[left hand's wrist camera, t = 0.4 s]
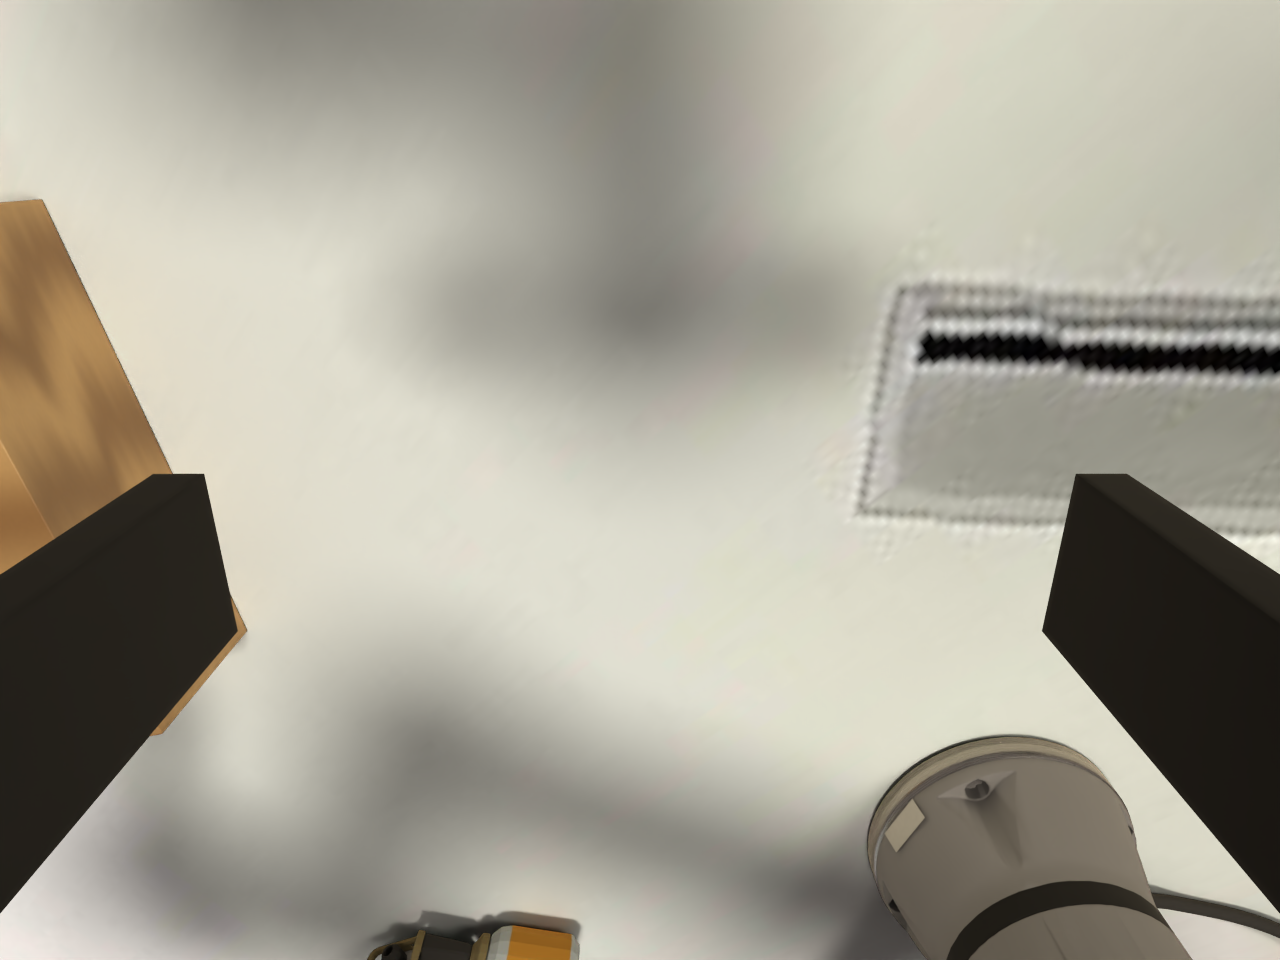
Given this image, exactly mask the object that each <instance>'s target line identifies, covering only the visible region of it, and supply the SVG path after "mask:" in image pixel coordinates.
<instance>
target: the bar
mask: <svg viewBox="0 0 1280 960" xmlns="http://www.w3.org/2000/svg"><path fill="white" fill-rule="evenodd" d="M152 474H172V472H171V470H170V468H169V466H168V464H167V462H166V460H165V458H164V455H163V453H162V451H161V449H160V447H159V445H158V443H157V441H156V439H155V437H154V434H153V432H152V430H151V428H150V426H149V424H148V422H147V420H146V418H145V416H144V413H143V411H142V409H141V407H140V405H139V403H138V401H137V399H136V397H135V395H134V392H133V390H132V388H131V386H130V384H129V382H128V380H127V378H126V376H125V374H124V371H123V369H122V367H121V365H120V363H119V361H118V359H117V357H116V355H115V353H114V350H113V348H112V346H111V344H110V342H109V340H108V338H107V336H106V334H105V332H104V329H103V327H102V325H101V323H100V321H99V319H98V317H97V315H96V313H95V311H94V308H93V306H92V304H91V302H90V300H89V298H88V296H87V294H86V292H85V290H84V287H83V285H82V283H81V281H80V279H79V277H78V275H77V273H76V271H75V269H74V266H73V264H72V262H71V260H70V258H69V256H68V254H67V252H66V250H65V248H64V245H63V243H62V241H61V239H60V237H59V235H58V233H57V231H56V229H55V227H54V224H53V222H52V220H51V218H50V216H49V214H48V212H47V210H46V208H45V206H44V203H43V201H42V200H27V201H14V202H1V203H0V574H2V573H3V572H5V571H6V570H8V569H9V568H11V567H12V566H14V565H15V564H17V563H18V562H20V561H22V560H23V559H25V558H26V557H28V556H29V555H31V554H32V553H34V552H35V551H37V550H38V549H40V548H41V547H43V546H44V545H46V544H47V543H49V542H50V541H52V540H53V539H55V538H56V537H58V536H60V535H61V534H63V533H64V532H66V531H67V530H69V529H70V528H72V527H73V526H75V525H76V524H78V523H79V522H81V521H82V520H84V519H85V518H87V517H88V516H90V515H91V514H93V513H94V512H96V511H98V510H99V509H101V508H102V507H104V506H105V505H107V504H108V503H110V502H111V501H113V500H114V499H116V498H117V497H119V496H120V495H122V494H123V493H125V492H126V491H128V490H129V489H131V488H132V487H134V486H136V485H137V484H139V483H140V482H142V481H143V480H145V479H146V478H148V477H149V476H151V475H152ZM230 597H231V596H230ZM231 601H232V606H233V611H234V615H235V620H236V624H237V629H238V632H237V633H236V634H235V635H234V636H233V638H232V639H231V640H230V641H229V642H228V643H227V645H226V646H225V647H224V648H223V649H222V651H221V652H220V653H219V654H218V655H217V657H216V658H215V659H214V660H213V661H212V662H211V664H210V665H209V666H208V667H207V668H206V670H205V671H204V672H203V673H202V674H201V676H200V677H199V678H198V679H197V680H196V681H195V683H194V684H193V685H192V686H191V687H190V689H189V690H188V691H187V692H186V693H185V695H184V696H183V697H182V698H181V699H180V700H179V702H178V703H177V704H176V705H175V706H174V708H173V709H172V710H171V711H170V712H169V714H168V715H167V716H166V717H165V718H164V719H163V721H162V722H161V723H160V724H159V725H158V727H157V728H156V729H155V730H154V731H153V733H152V734H151V735H150V736H153V735H158V734H162V733H163V732H164V731H165V730H166V729H167V727H168V726H169V725H170V724H171V723H172V721H173V720H174V719H175V718H176V716H177V715H178V714H179V713H180V712H181V710H182V709H183V708H184V707H185V706H186V704H187V703H188V702H189V701H190V699H191V698H192V697H193V696H194V695H195V693H196V692H197V691H198V690H199V689H200V687H201V686H202V685H203V684H204V682H205V681H206V680H207V679H208V678H209V676H210V675H211V674H212V673H213V672H214V670H215V669H216V668H217V667H218V665H219V664H220V663H221V662H222V661H223V659H224V658H225V657H226V656H227V655H228V653H229V652H230V651H231V650H232V648H233V647H234V646H235V645H236V644H237V642H238V641H239V640H240V639H241V638H242V636H243V635H244V634H245V633H246V631H247V630H246V628H245V626H244V623H243V621H242V619H241V617H240V615H239V613H238V611H237V609H236V607H235V605H234V602H233V600H232V598H231Z"/></svg>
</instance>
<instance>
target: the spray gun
mask: <svg viewBox="0 0 1280 960" xmlns="http://www.w3.org/2000/svg"><path fill="white" fill-rule="evenodd" d="M425 933H426V931H424V930H419V931H418V933H417V936H415V937H412V938H408V939H405V940H402V941H398V942H395V943H391V944H388V945H385V946H381V947H378V948H376V949H375V950H373V951H372V952H371V954H370V955H369V957H368V959H367V960H375V958H376V957H377V956H378V955H380V954H382V959H381V960H579V952H580V946H579V943H578V942H577V940H576V938H575V937H574V935H572V934H567V933H560V932H554V931H547V930H540V929H533V928H527V927H520V926H513V925H512V926H504V927H501V928H500V929H498V930H497V931H496V932H495V933H493V934H492V936H491V934H489V933H483V934H482V935H481V936H480V938H479V939H478V941H477V942H475V943H474V944H473V947H472V945H471V944H469V943H466V942H463V941H458V940H454V939H449V938H445V937H441V936H436V935H432V934H425ZM490 936H491V939H490ZM412 944H414V947H413V946H412ZM471 950H472V952H471Z"/></svg>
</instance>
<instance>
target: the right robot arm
mask: <svg viewBox="0 0 1280 960" xmlns="http://www.w3.org/2000/svg"><path fill="white" fill-rule="evenodd" d="M868 856H869V861H870V865H871V869H872V872H873V875H874V878H875V881H876V884H877V887H878V890H879V893H880V895H881V898H882V899H883V901H884V903H885V905H886V906H887V908H888V909H889V910H890V912H891V913H892V915H893V916H894V917H895V919H896V920H897V921H898V922H899V923H900V925H901V926H902V927H903V928H904V929H905V930H906V931H907V932H908V934H909V935H910V937H911V939H912V940H913V941H914V943H915V944H916V946H917V947H918V948H919V950H920V951H921V952H922V954H923V955H924V956H925V958H926V959H927V960H1192V958H1191V957H1190V956H1189V954H1188V953H1187V951H1186V950H1185V948H1184V947H1183V945H1182V944H1181V942H1180V941H1179V940H1178V938H1177V937H1176V935H1175V934H1174V932H1173V931H1172V929H1171V928H1170V927H1169V925H1168V924H1167V922H1166V921H1165V919H1164V918H1163V916H1162V915H1161V913H1160V912H1159V910H1158V909H1157V908H1162V909H1170V910H1176V911H1181V912H1186V913H1192V914H1197V915H1202V916H1207V917H1212V918H1217V919H1221V920H1226V921H1230V922H1234V923H1237V924H1241V925H1244V926H1248V927H1251V928H1254V929H1257V930H1260V931H1263V932H1266V933H1268V934H1271V935H1273V936H1276V937H1278V938H1280V924H1279V923H1277V922H1274V921H1272V920H1269V919H1266V918H1264V917H1261V916H1258V915H1255V914H1252V913H1248V912H1245V911H1242V910H1238V909H1234V908H1230V907H1226V906H1222V905H1217V904H1213V903H1208V902H1203V901H1198V900H1193V899H1187V898H1182V897H1177V896H1171V895H1165V894H1151V891H1150V888H1149V885H1148V882H1147V878H1146V875H1145V872H1144V869H1143V866H1142V863H1141V860H1140V857H1139V854H1138V851H1137V846H1136V838H1135V834H1134V829H1133V825H1132V822H1131V819H1130V815H1129V813H1128V810H1127V808H1126V806H1125V804H1124V802H1123V801H1122V799H1121V798H1120V796H1119V795H1118V794H1117V792H1116V791H1115V790H1114V788H1113V787H1112V786H1111V784H1110V783H1109V782H1108V780H1107V779H1106V778H1105V776H1104V775H1103V774H1102V772H1101V771H1100V770H1099V769H1098V768H1097V767H1096V766H1095V765H1094V764H1093V763H1092V762H1090V761H1089V760H1088V759H1087V758H1085V757H1084V756H1082V755H1080V754H1079V753H1077V752H1075V751H1073V750H1071V749H1069V748H1067V747H1065V746H1062V745H1059V744H1057V743H1053V742H1049V741H1045V740H1040V739H1034V738H1025V737H1001V738H991V739H984V740H979V741H974V742H970V743H966V744H963V745H960V746H957V747H954V748H951V749H949V750H946V751H944V752H942V753H940V754H938V755H936V756H933V757H932V758H930V759H928V760H926V761H925V762H923V763H921V764H920V765H918V766H917V767H916V768H914V769H913V770H911V771H910V772H909V773H908V774H906V775H905V776H904V777H903V778H902V779H901V780H900V781H899V782H898V783H897V784H896V785H895V786H894V787H893V788H892V789H891V790H890V791H889V793H888V794H887V795H886V797H885V798H884V799H883V801H882V802H881V804H880V806H879V808H878V809H877V811H876V813H875V816H874V818H873V821H872V823H871V827H870V831H869V837H868Z"/></svg>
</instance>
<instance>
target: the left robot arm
mask: <svg viewBox="0 0 1280 960" xmlns="http://www.w3.org/2000/svg"><path fill="white" fill-rule="evenodd" d="M237 632H238V629H237V624H236V620H235V615H234V611H233V606H232V601H231V597H230V592H229V587H228V583H227V578H226V573H225V569H224V564H223V560H222V555H221V550H220V546H219V541H218V536H217V532H216V527H215V522H214V518H213V513H212V508H211V504H210V499H209V495H208V490H207V485H206V481H205V476H204V474H152V475H151V476H149V477H148V478H146V479H145V480H143V481H142V482H140V483H139V484H137V485H136V486H134V487H132V488H131V489H129V490H128V491H126V492H125V493H123V494H122V495H120V496H119V497H117V498H116V499H114V500H113V501H111V502H110V503H108V504H107V505H105V506H104V507H102V508H101V509H99V510H98V511H96V512H94V513H93V514H91V515H90V516H88V517H87V518H85V519H84V520H82V521H81V522H79V523H78V524H76V525H75V526H73V527H72V528H70V529H69V530H67V531H66V532H64V533H63V534H61V535H60V536H58V537H56V538H55V539H53V540H52V541H50V542H49V543H47V544H46V545H44V546H43V547H41V548H40V549H38V550H37V551H35V552H34V553H32V554H31V555H29V556H28V557H26V558H25V559H23V560H22V561H20V562H18V563H17V564H15V565H14V566H12V567H11V568H9V569H8V570H6V571H5V572H3V573H2V574H0V913H1V912H2V911H3V909H4V908H5V907H6V906H7V905H8V904H9V902H10V901H11V900H12V899H13V898H14V896H15V895H16V894H17V893H18V892H19V890H20V889H21V888H22V887H23V886H24V885H25V883H26V882H27V881H28V880H29V879H30V877H31V876H32V875H33V874H34V873H35V871H36V870H37V869H38V868H39V867H40V866H41V864H42V863H43V862H44V861H45V860H46V858H47V857H48V856H49V855H50V854H51V852H52V851H53V850H54V849H55V848H56V847H57V845H58V844H59V843H60V842H61V841H62V839H63V838H64V837H65V836H66V835H67V833H68V832H69V831H70V830H71V829H72V828H73V826H74V825H75V824H76V823H77V822H78V820H79V819H80V818H81V817H82V816H83V814H84V813H85V812H86V811H87V810H88V809H89V807H90V806H91V805H92V804H93V803H94V801H95V800H96V799H97V798H98V797H99V795H100V794H101V793H102V792H103V791H104V790H105V788H106V787H107V786H108V785H109V784H110V782H111V781H112V780H113V779H114V778H115V776H116V775H117V774H118V773H119V772H120V771H121V769H122V768H123V767H124V766H125V765H126V763H127V762H128V761H129V760H130V759H131V757H132V756H133V755H134V754H135V753H136V752H137V750H138V749H139V748H140V747H141V746H142V744H143V743H144V742H145V741H146V740H147V738H148V737H149V736H150V735H151V734H152V733H153V731H154V730H155V729H156V728H157V727H158V725H159V724H160V723H161V722H162V721H163V719H164V718H165V717H166V716H167V715H168V714H169V712H170V711H171V710H172V709H173V708H174V706H175V705H176V704H177V703H178V702H179V700H180V699H181V698H182V697H183V696H184V695H185V693H186V692H187V691H188V690H189V689H190V687H191V686H192V685H193V684H194V683H195V681H196V680H197V679H198V678H199V677H200V676H201V674H202V673H203V672H204V671H205V670H206V668H207V667H208V666H209V665H210V664H211V662H212V661H213V660H214V659H215V658H216V657H217V655H218V654H219V653H220V652H221V651H222V649H223V648H224V647H225V646H226V645H227V643H228V642H229V641H230V640H231V639H232V638H233V636H234V635H235V634H236V633H237ZM1042 632H1043V633H1044V634H1045V635H1046V636H1047V638H1048V639H1049V640H1050V641H1051V642H1052V643H1053V645H1054V646H1055V647H1056V648H1057V649H1058V651H1059V652H1060V653H1061V654H1062V655H1063V657H1064V658H1065V659H1066V660H1067V661H1068V662H1069V664H1070V665H1071V666H1072V667H1073V668H1074V670H1075V671H1076V672H1077V673H1078V674H1079V676H1080V677H1081V678H1082V679H1083V680H1084V681H1085V683H1086V684H1087V685H1088V686H1089V687H1090V689H1091V690H1092V691H1093V692H1094V693H1095V695H1096V696H1097V697H1098V698H1099V699H1100V700H1101V702H1102V703H1103V704H1104V705H1105V706H1106V708H1107V709H1108V710H1109V711H1110V712H1111V714H1112V715H1113V716H1114V717H1115V718H1116V719H1117V721H1118V722H1119V723H1120V724H1121V725H1122V727H1123V728H1124V729H1125V730H1126V731H1127V733H1128V734H1129V735H1130V736H1131V737H1132V738H1133V740H1134V741H1135V742H1136V743H1137V744H1138V746H1139V747H1140V748H1141V749H1142V750H1143V752H1144V753H1145V754H1146V755H1147V756H1148V757H1149V759H1150V760H1151V761H1152V762H1153V763H1154V765H1155V766H1156V767H1157V768H1158V769H1159V771H1160V772H1161V773H1162V774H1163V775H1164V776H1165V778H1166V779H1167V780H1168V781H1169V782H1170V784H1171V785H1172V786H1173V787H1174V788H1175V790H1176V791H1177V792H1178V793H1179V794H1180V795H1181V797H1182V798H1183V799H1184V800H1185V801H1186V803H1187V804H1188V805H1189V806H1190V807H1191V809H1192V810H1193V811H1194V812H1195V813H1196V814H1197V816H1198V817H1199V818H1200V819H1201V820H1202V822H1203V823H1204V824H1205V825H1206V826H1207V828H1208V829H1209V830H1210V831H1211V832H1212V833H1213V835H1214V836H1215V837H1216V838H1217V839H1218V841H1219V842H1220V843H1221V844H1222V845H1223V847H1224V848H1225V849H1226V850H1227V851H1228V852H1229V854H1230V855H1231V856H1232V857H1233V858H1234V860H1235V861H1236V862H1237V863H1238V864H1239V866H1240V867H1241V868H1242V869H1243V870H1244V871H1245V873H1246V874H1247V875H1248V876H1249V877H1250V879H1251V880H1252V881H1253V882H1254V883H1255V885H1256V886H1257V887H1258V888H1259V889H1260V890H1261V892H1262V893H1263V894H1264V895H1265V896H1266V898H1267V899H1268V900H1269V901H1270V902H1271V904H1272V905H1273V906H1274V907H1275V908H1276V909H1277V911H1278V912H1279V913H1280V574H1278V573H1277V572H1275V571H1274V570H1272V569H1271V568H1269V567H1268V566H1266V565H1265V564H1263V563H1262V562H1260V561H1258V560H1257V559H1255V558H1254V557H1252V556H1251V555H1249V554H1248V553H1246V552H1245V551H1243V550H1242V549H1240V548H1239V547H1237V546H1236V545H1234V544H1233V543H1231V542H1230V541H1228V540H1227V539H1225V538H1224V537H1222V536H1220V535H1219V534H1217V533H1216V532H1214V531H1213V530H1211V529H1210V528H1208V527H1207V526H1205V525H1204V524H1202V523H1201V522H1199V521H1198V520H1196V519H1195V518H1193V517H1192V516H1190V515H1189V514H1187V513H1186V512H1184V511H1182V510H1181V509H1179V508H1178V507H1176V506H1175V505H1173V504H1172V503H1170V502H1169V501H1167V500H1166V499H1164V498H1163V497H1161V496H1160V495H1158V494H1157V493H1155V492H1154V491H1152V490H1151V489H1149V488H1148V487H1146V486H1144V485H1143V484H1141V483H1140V482H1138V481H1137V480H1135V479H1134V478H1132V477H1131V476H1129V475H1128V474H1076V476H1075V481H1074V485H1073V490H1072V495H1071V499H1070V504H1069V508H1068V513H1067V518H1066V522H1065V527H1064V532H1063V536H1062V541H1061V546H1060V550H1059V555H1058V560H1057V564H1056V569H1055V573H1054V578H1053V583H1052V587H1051V592H1050V597H1049V601H1048V606H1047V611H1046V615H1045V620H1044V624H1043V629H1042Z"/></svg>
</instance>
